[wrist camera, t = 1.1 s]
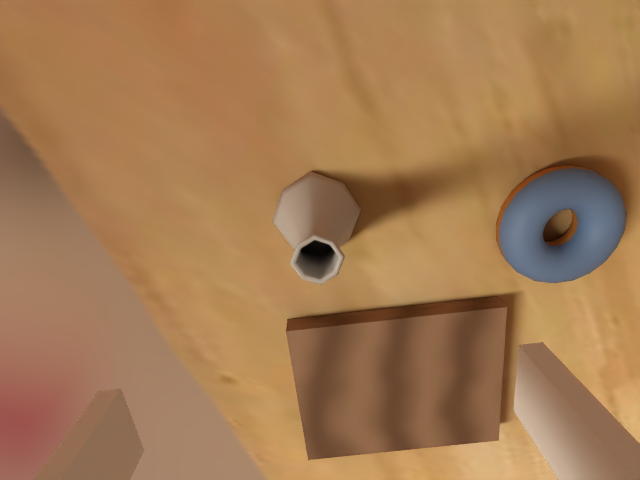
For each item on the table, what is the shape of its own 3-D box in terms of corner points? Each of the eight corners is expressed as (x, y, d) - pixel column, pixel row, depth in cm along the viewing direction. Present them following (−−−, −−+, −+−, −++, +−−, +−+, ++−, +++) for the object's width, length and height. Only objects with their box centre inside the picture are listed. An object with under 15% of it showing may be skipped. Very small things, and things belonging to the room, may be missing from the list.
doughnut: (478, 271, 35) (507, 293, 30) (498, 160, 32) (534, 166, 27) (576, 271, 36) (618, 291, 32) (604, 164, 33) (655, 171, 29)
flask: (375, 207, 33) (400, 250, 23) (323, 268, 34) (327, 330, 25) (308, 155, 31) (305, 178, 22) (258, 222, 33) (235, 270, 23)
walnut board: (497, 296, 36) (507, 307, 34) (490, 424, 41) (498, 440, 39) (287, 319, 36) (286, 331, 34) (308, 443, 42) (308, 459, 40)
